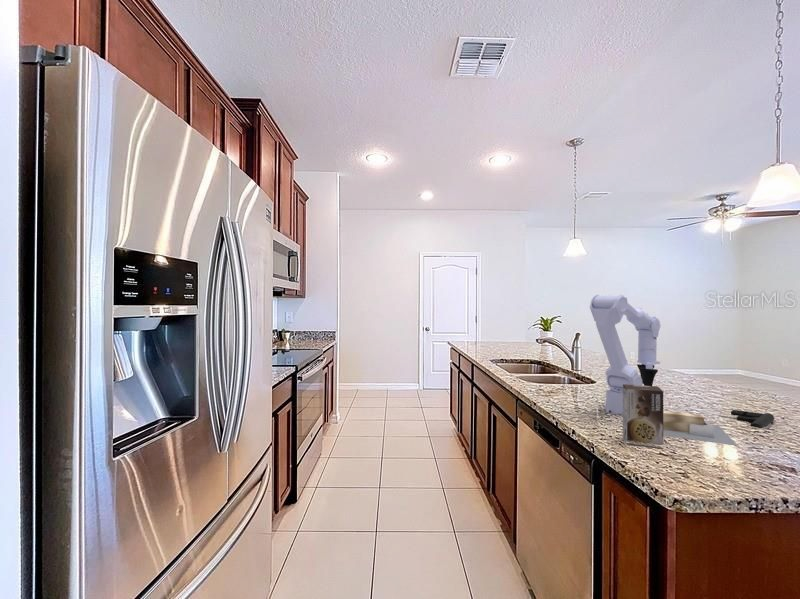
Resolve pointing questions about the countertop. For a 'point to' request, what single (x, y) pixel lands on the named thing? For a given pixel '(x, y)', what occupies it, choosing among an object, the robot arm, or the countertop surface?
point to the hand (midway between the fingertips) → (646, 385)
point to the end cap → (701, 429)
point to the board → (718, 436)
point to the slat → (680, 421)
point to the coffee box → (643, 414)
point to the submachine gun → (753, 418)
